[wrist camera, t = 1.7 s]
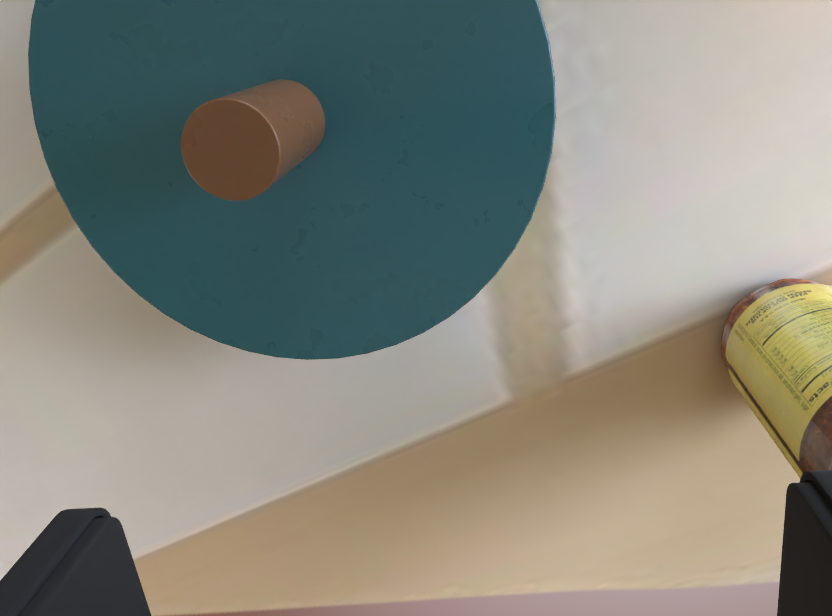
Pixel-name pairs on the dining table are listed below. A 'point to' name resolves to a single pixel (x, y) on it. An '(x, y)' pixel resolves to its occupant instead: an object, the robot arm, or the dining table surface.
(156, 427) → the dining table surface
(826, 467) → the sauce bottle
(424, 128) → the lid
